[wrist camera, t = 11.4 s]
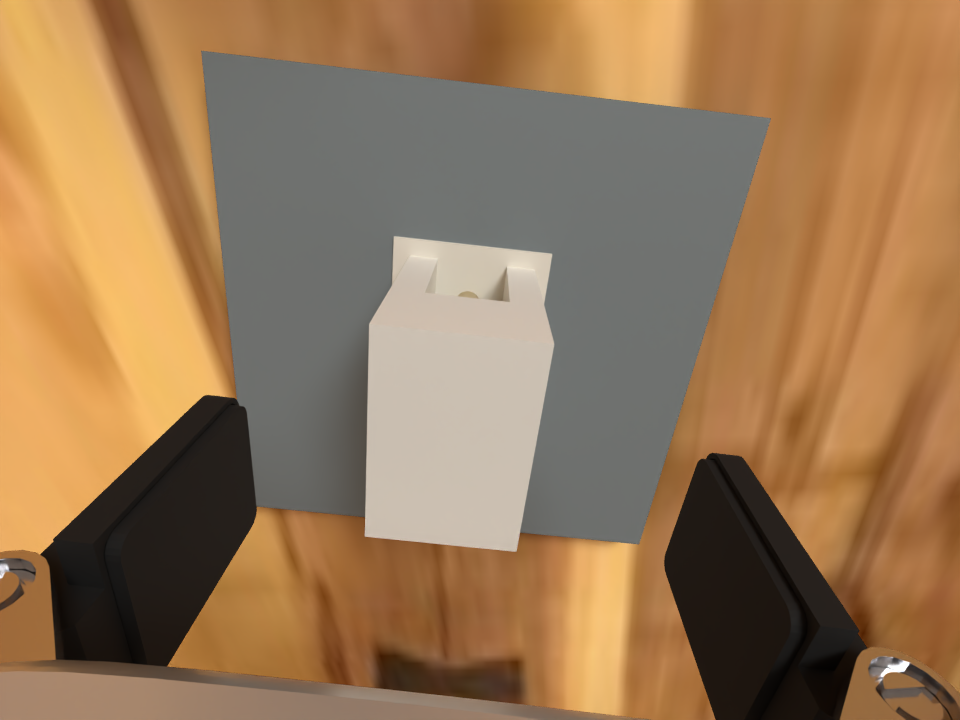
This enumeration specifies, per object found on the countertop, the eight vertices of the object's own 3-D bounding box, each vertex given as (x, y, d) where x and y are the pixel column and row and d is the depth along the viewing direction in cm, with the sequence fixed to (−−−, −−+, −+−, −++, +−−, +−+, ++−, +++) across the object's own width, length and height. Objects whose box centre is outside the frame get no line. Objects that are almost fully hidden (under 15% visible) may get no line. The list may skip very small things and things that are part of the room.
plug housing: (534, 269, 17) (554, 343, 11) (510, 428, 19) (516, 551, 14) (409, 255, 17) (369, 324, 11) (401, 417, 19) (364, 536, 14)
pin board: (752, 117, 16) (820, 118, 13) (632, 523, 23) (655, 594, 19) (221, 55, 16) (147, 39, 12) (259, 486, 22) (218, 552, 19)
